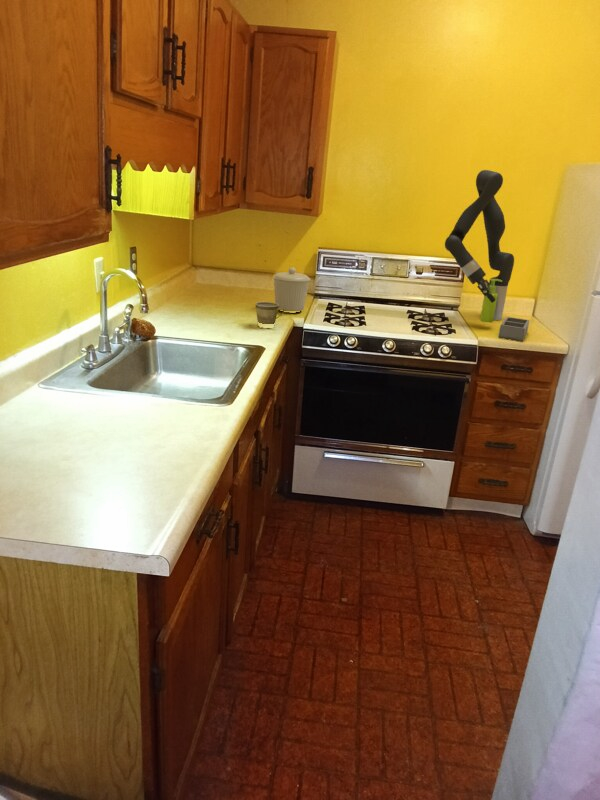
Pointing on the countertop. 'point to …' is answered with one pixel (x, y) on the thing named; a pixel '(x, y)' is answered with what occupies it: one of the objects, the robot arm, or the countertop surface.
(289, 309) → the canister
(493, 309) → the soap dispenser
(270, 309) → the ceramic cup
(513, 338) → the caddy
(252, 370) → the countertop surface
